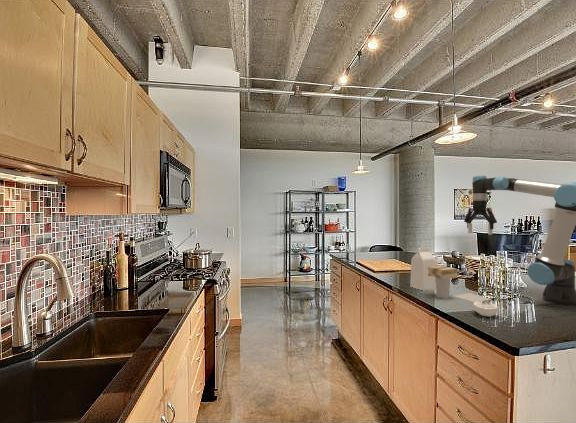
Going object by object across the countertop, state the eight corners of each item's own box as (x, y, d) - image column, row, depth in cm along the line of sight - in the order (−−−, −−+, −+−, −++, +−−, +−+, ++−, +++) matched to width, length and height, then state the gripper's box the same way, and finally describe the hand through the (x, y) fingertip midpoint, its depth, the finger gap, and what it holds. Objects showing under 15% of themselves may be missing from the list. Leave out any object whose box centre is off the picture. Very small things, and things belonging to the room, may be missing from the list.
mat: (492, 300, 170) (492, 299, 170) (474, 302, 165) (474, 302, 165) (469, 293, 183) (469, 293, 183) (452, 296, 178) (452, 295, 178)
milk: (423, 291, 190) (422, 249, 190) (410, 286, 201) (409, 247, 201) (438, 289, 194) (438, 248, 194) (425, 285, 205) (424, 246, 205)
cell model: (470, 316, 144) (470, 301, 144) (476, 310, 153) (476, 296, 153) (496, 321, 137) (496, 306, 137) (500, 314, 146) (500, 300, 146)
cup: (452, 299, 171) (452, 278, 171) (437, 299, 172) (437, 277, 172) (448, 296, 179) (448, 275, 179) (433, 295, 180) (433, 274, 180)
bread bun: (457, 277, 172) (457, 268, 172) (443, 279, 169) (443, 270, 169) (441, 274, 182) (441, 265, 182) (428, 275, 178) (428, 267, 179)
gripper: (458, 201, 205) (458, 232, 205) (494, 199, 182) (495, 235, 182) (466, 201, 208) (466, 232, 208) (503, 199, 184) (503, 235, 184)
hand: (479, 233), depth 195 cm, fingers open, 13 cm apart
